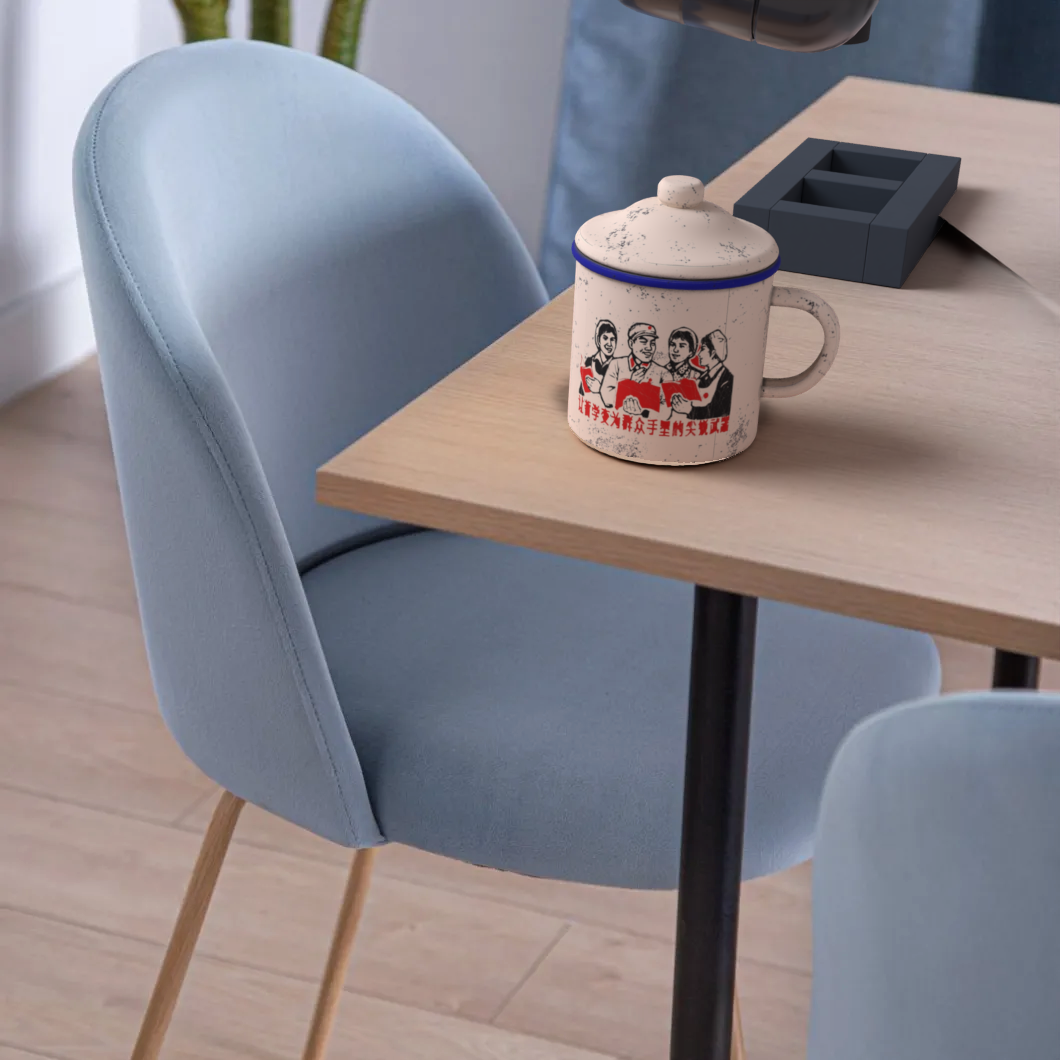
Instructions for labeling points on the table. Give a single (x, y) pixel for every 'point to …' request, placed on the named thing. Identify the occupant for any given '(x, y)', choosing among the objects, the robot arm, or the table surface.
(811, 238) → the divided rectangular tray
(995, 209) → the table surface
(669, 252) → the teacup with lid
